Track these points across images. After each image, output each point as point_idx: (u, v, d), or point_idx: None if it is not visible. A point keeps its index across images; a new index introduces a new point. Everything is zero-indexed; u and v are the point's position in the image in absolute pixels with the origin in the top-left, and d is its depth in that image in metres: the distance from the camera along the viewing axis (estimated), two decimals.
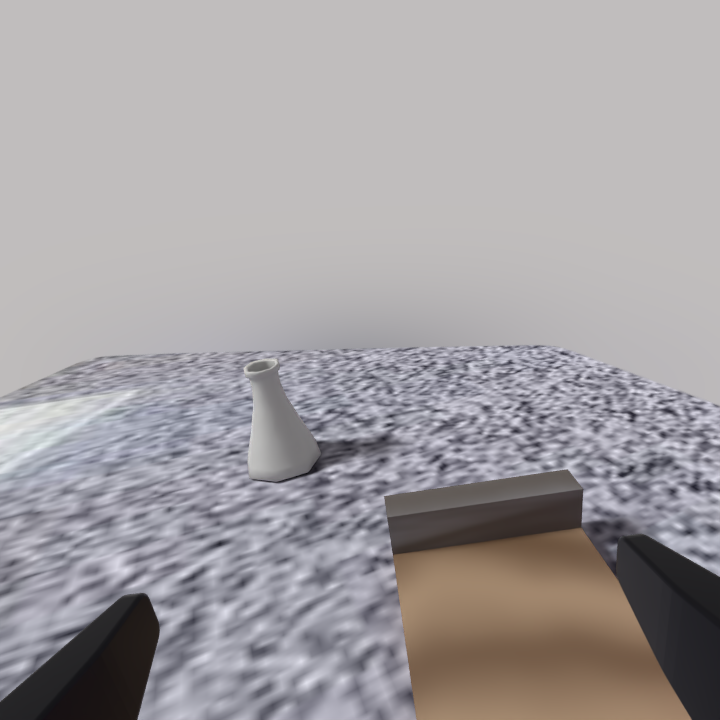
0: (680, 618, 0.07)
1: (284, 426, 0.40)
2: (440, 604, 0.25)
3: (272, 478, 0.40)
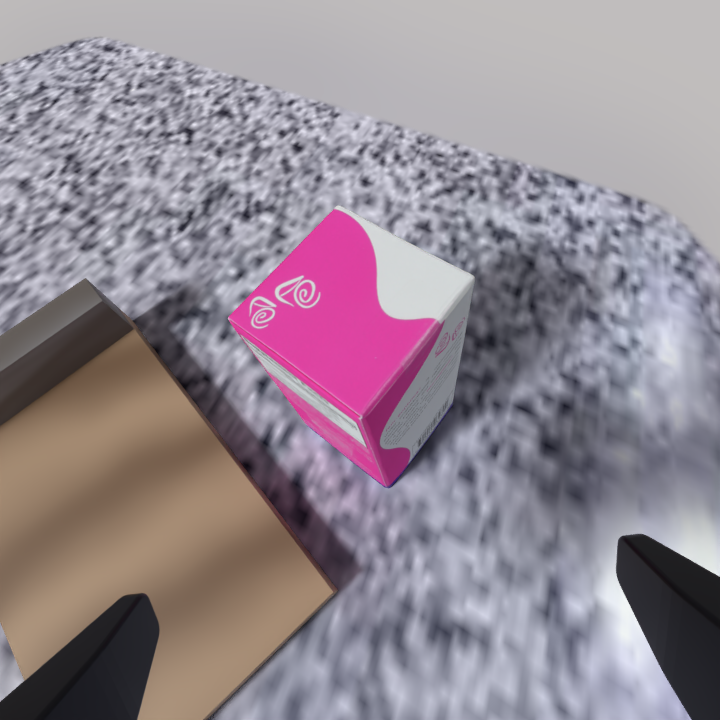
0: (680, 618, 0.07)
1: None
2: (4, 500, 0.22)
3: None
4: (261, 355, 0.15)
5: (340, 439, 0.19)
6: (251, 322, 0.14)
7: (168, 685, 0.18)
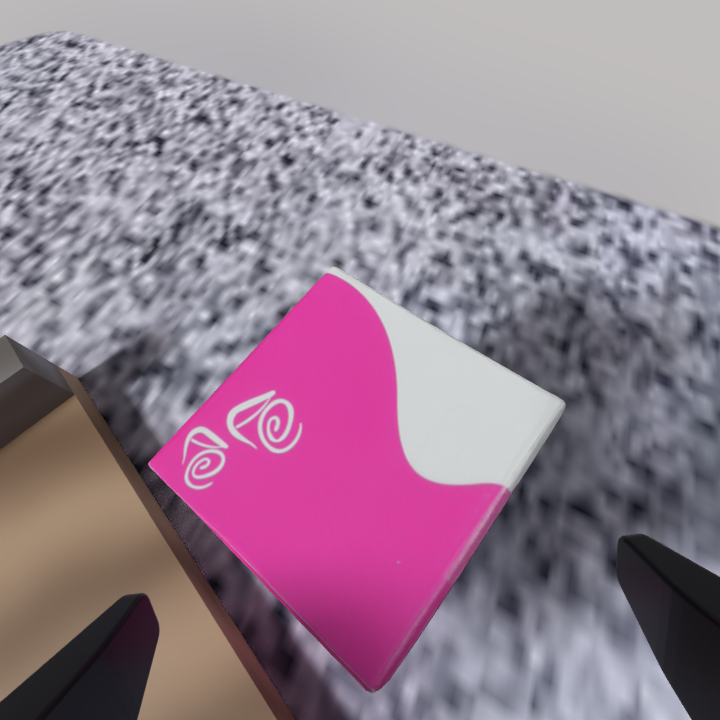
0: (680, 618, 0.07)
1: None
2: None
3: None
4: None
5: None
6: (184, 477, 0.08)
7: None
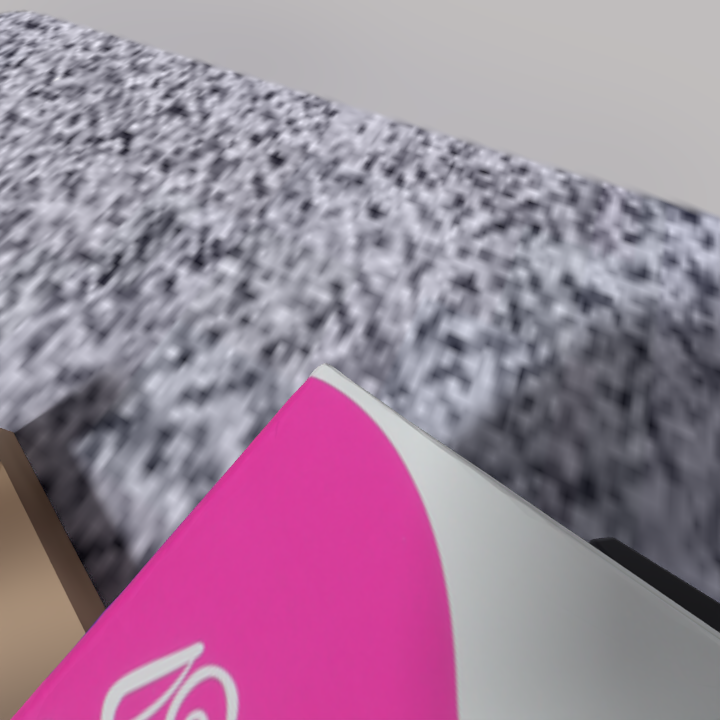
0: None
1: None
2: None
3: None
4: None
5: None
6: None
7: None
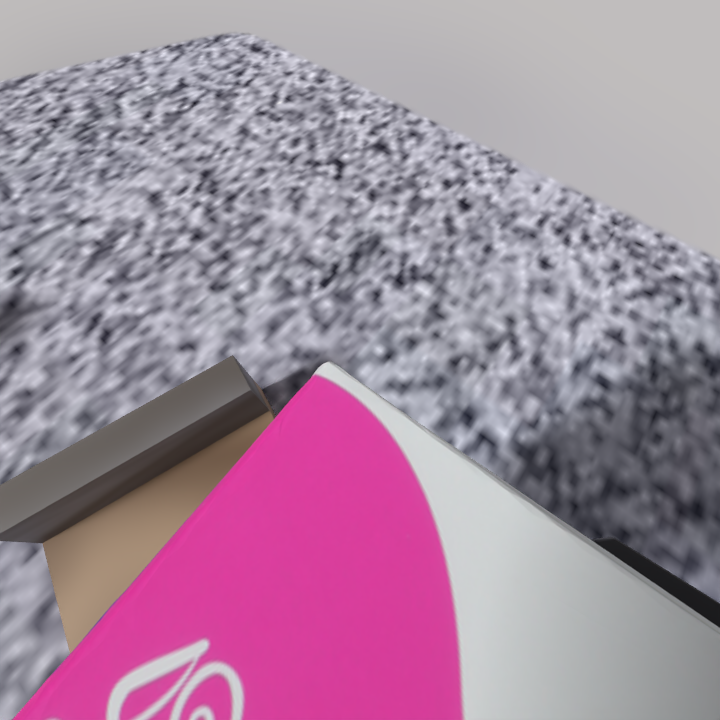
0: None
1: None
2: (111, 599, 0.20)
3: None
4: None
5: None
6: None
7: None
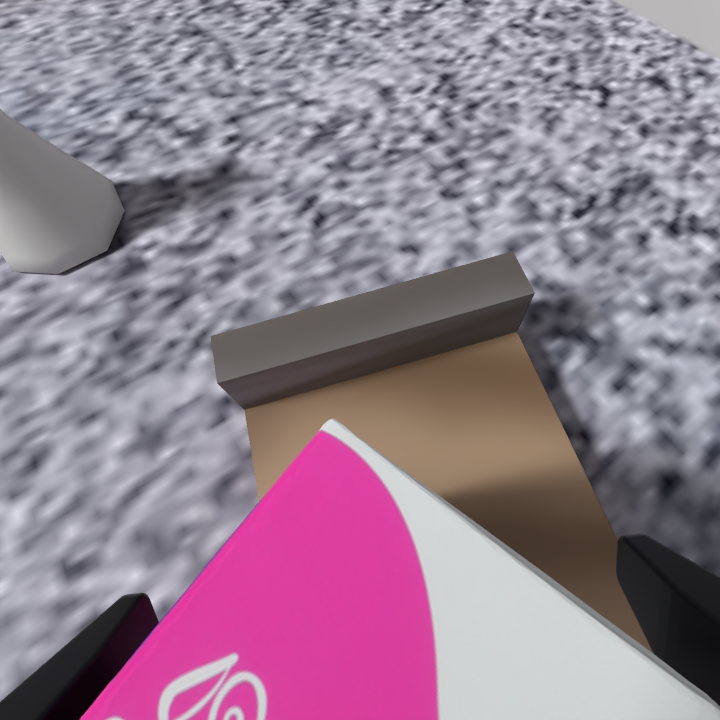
0: (680, 618, 0.07)
1: (25, 182, 0.22)
2: None
3: (48, 269, 0.25)
4: None
5: None
6: None
7: None
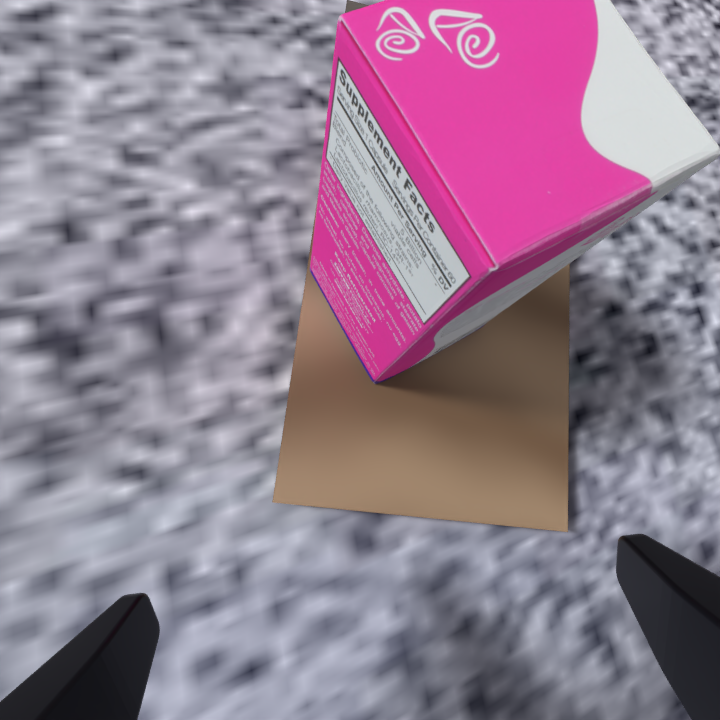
0: (680, 618, 0.07)
1: None
2: None
3: None
4: (350, 117, 0.09)
5: (367, 301, 0.14)
6: (376, 42, 0.08)
7: (399, 464, 0.18)
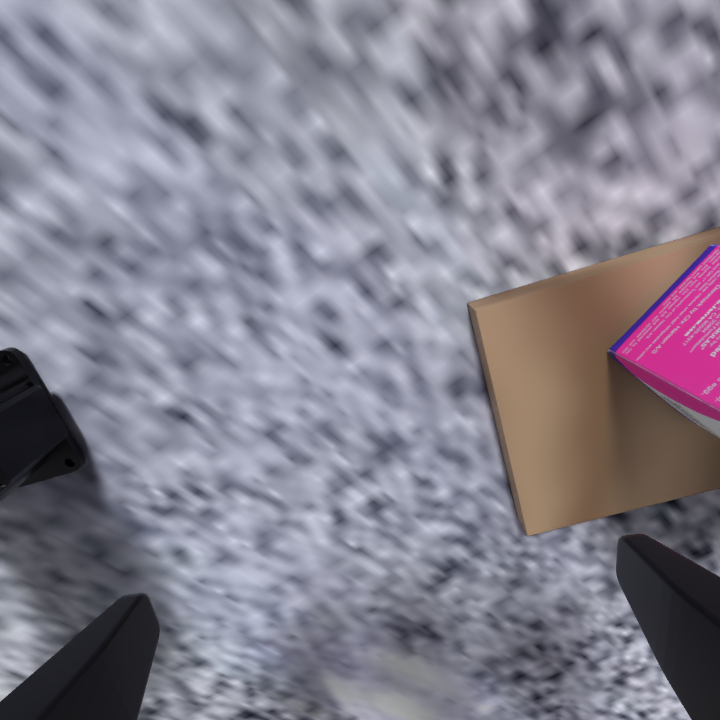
0: (680, 618, 0.07)
1: None
2: None
3: None
4: None
5: None
6: None
7: (540, 398, 0.20)
